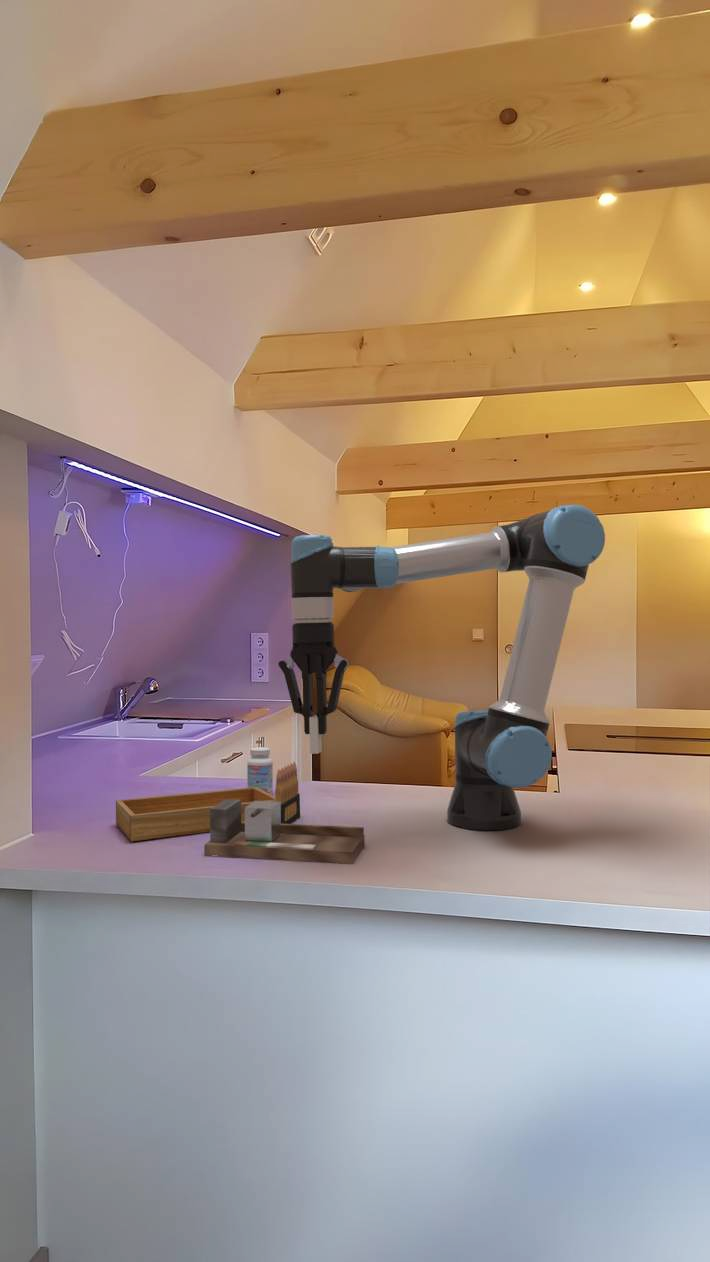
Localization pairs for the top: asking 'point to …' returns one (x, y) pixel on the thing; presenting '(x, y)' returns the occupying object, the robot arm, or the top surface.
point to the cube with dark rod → (262, 821)
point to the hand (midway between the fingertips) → (316, 752)
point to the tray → (178, 812)
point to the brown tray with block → (282, 839)
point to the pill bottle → (260, 769)
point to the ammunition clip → (288, 793)
